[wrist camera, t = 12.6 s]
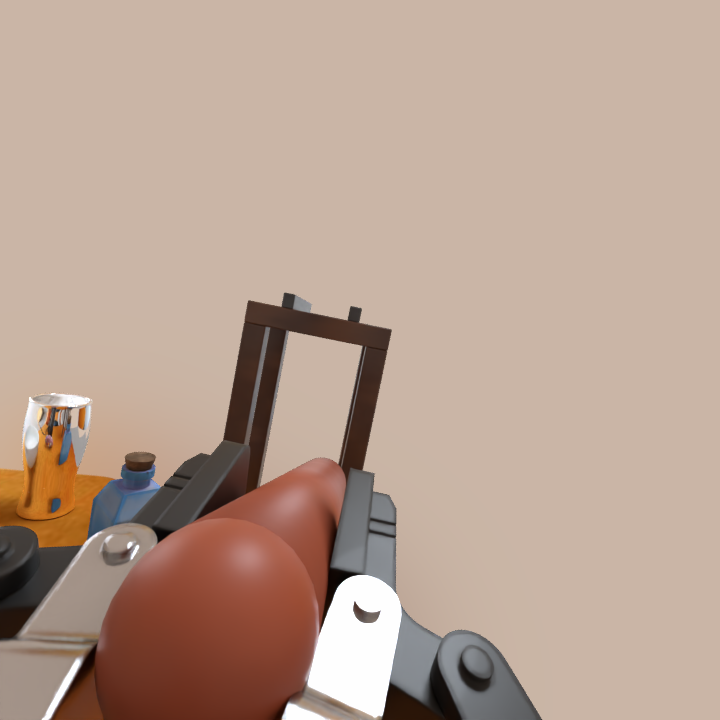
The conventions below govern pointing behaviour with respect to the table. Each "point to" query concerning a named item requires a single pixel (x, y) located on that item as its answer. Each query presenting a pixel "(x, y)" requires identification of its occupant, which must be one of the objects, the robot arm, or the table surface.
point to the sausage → (225, 607)
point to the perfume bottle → (124, 493)
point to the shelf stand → (250, 368)
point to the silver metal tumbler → (52, 453)
